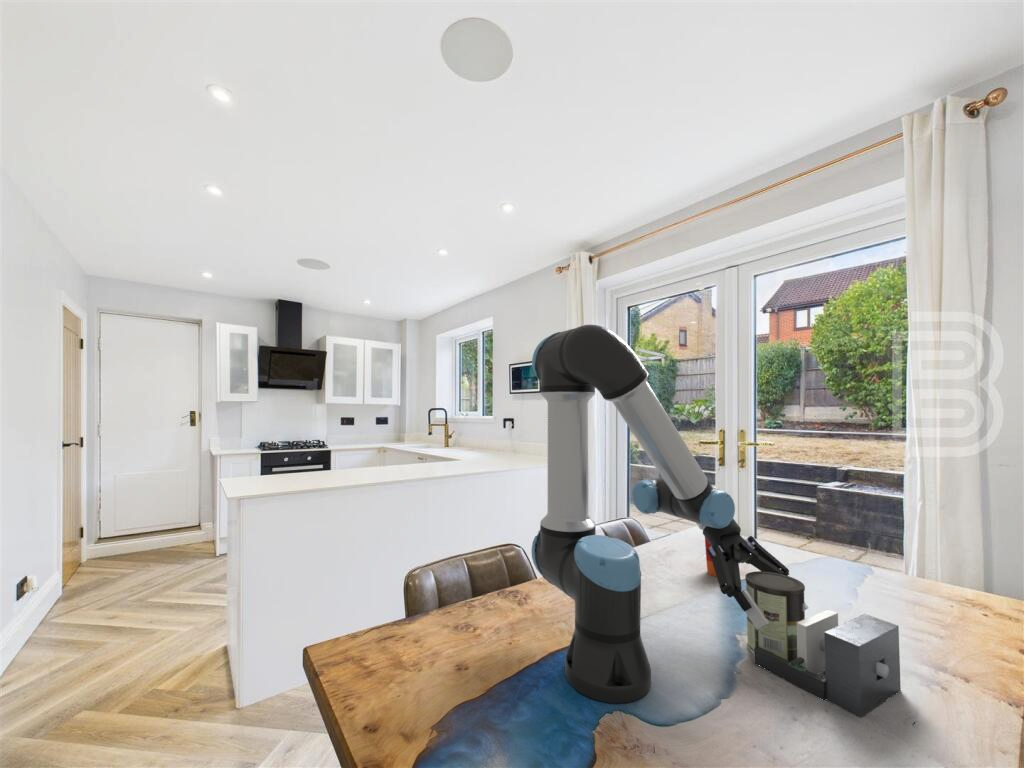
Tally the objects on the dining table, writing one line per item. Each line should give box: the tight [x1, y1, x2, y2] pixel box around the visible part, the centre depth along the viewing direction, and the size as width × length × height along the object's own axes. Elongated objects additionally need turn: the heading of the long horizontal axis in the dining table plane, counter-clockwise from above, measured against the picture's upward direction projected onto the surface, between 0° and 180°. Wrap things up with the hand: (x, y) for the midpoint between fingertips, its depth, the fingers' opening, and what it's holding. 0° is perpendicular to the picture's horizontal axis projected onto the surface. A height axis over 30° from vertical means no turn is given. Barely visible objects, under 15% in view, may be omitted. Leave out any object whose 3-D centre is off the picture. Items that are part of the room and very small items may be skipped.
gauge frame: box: [753, 613, 902, 719], centre depth 81 cm, size 17×15×11 cm
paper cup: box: [704, 537, 717, 578], centre depth 130 cm, size 8×8×14 cm
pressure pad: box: [790, 609, 889, 678], centre depth 77 cm, size 11×14×9 cm
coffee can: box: [744, 570, 806, 662], centre depth 89 cm, size 10×10×14 cm
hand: (783, 618), depth 87 cm, fingers open, 13 cm apart
